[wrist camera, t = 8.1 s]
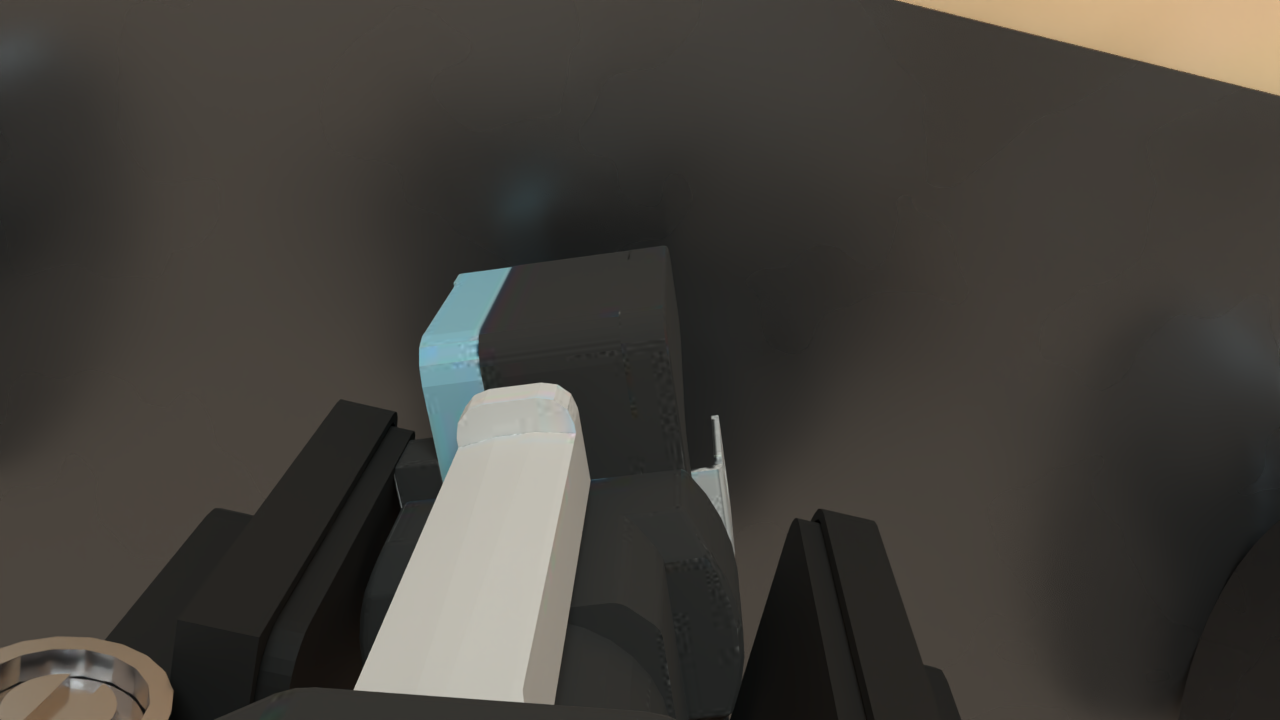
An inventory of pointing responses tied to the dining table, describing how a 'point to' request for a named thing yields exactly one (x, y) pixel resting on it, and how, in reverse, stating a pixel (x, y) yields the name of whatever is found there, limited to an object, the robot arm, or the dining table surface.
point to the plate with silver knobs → (705, 294)
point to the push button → (550, 517)
